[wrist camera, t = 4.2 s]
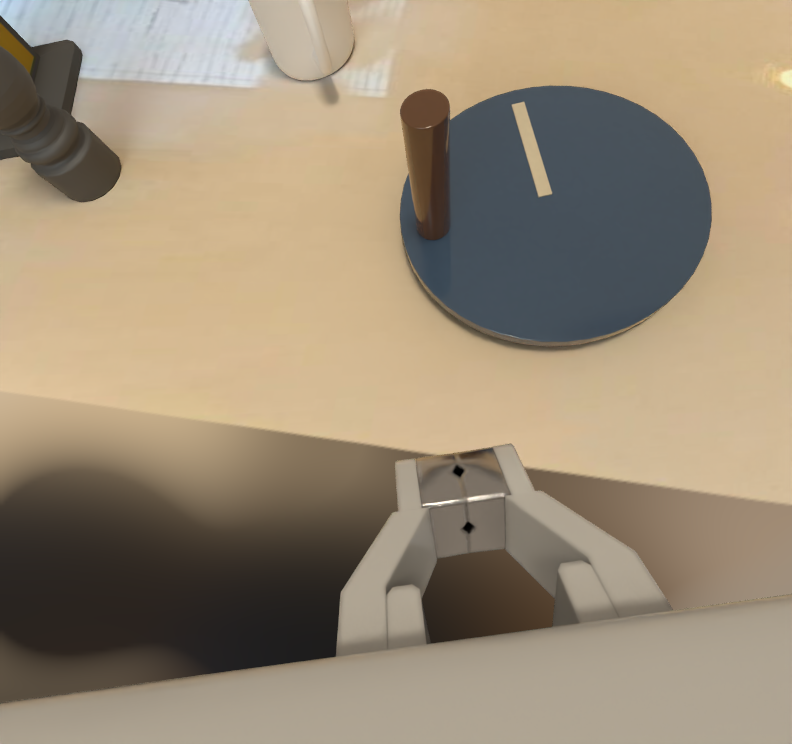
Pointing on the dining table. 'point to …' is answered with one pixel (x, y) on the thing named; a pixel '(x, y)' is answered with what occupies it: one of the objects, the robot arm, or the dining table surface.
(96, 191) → the candle holder
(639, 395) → the dining table surface
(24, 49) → the lantern
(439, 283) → the blue disc with peg
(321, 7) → the cup
